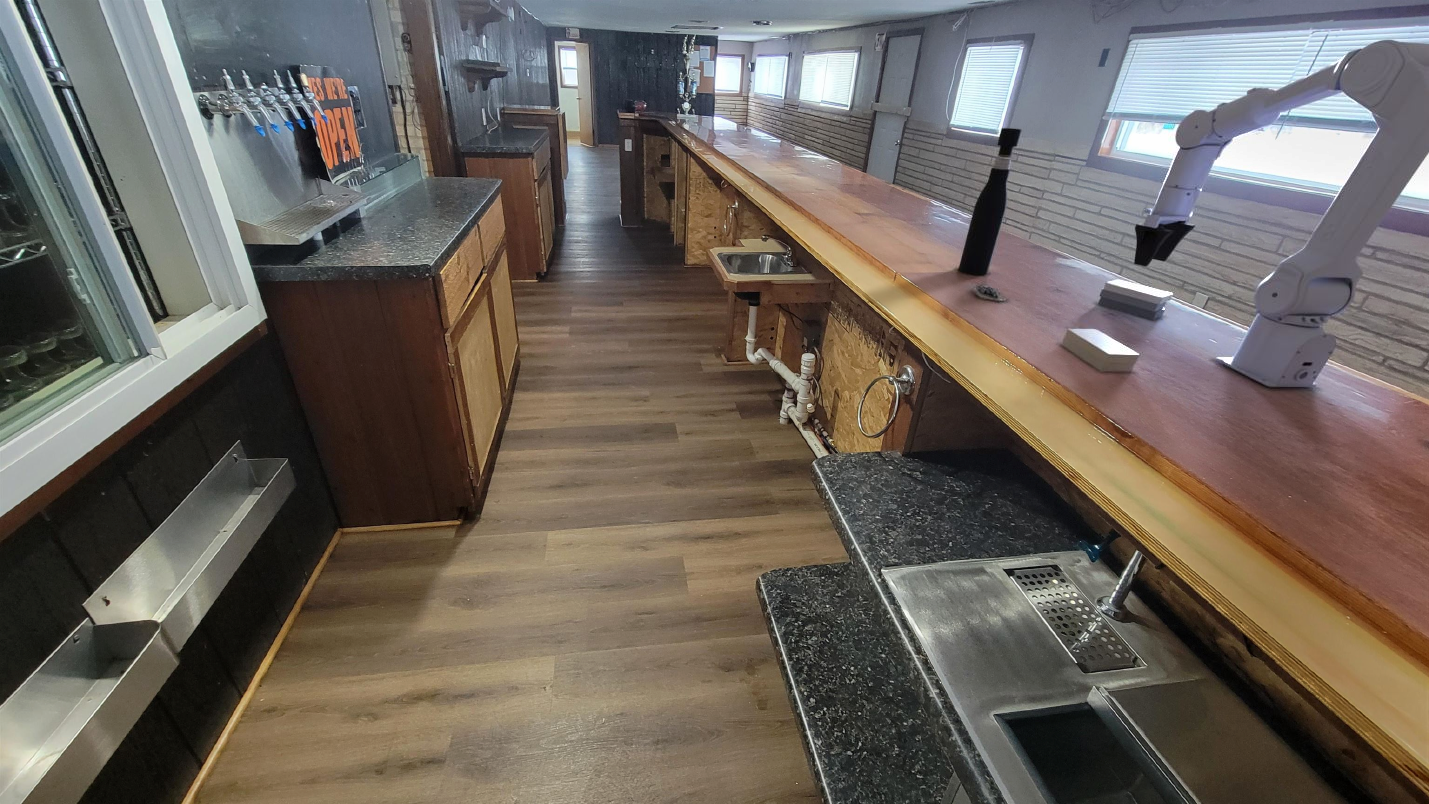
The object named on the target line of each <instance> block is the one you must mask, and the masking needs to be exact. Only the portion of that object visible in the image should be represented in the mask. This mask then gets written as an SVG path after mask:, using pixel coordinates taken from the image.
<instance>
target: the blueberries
mask: <svg viewBox="0 0 1429 804" xmlns="http://www.w3.org/2000/svg"><path fill="white" fill-rule="evenodd" d="M970 288H971V290H972V291H973V292H974V294H975V295H976V296H978V297H979V298H981V299H985V300H991V301H996V302H1006V300H1007V298H1006V297H1004V295H1003V293H1001V292H1002V291H1001V290H1000V289H996V288H995V287H992V286H990V285H987V286H986V285H985V284H980V285H976V286H970ZM1002 295H1003V296H1002Z"/></svg>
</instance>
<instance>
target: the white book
mask: <svg viewBox="0 0 1429 804" xmlns="http://www.w3.org/2000/svg"><path fill="white" fill-rule="evenodd" d="M1102 289H1104V290H1108V291H1112V292H1115V293H1119V294H1122V295H1126V296H1130V297H1133V298H1137V299H1141V300H1144V301H1148V302H1152V303H1155V304H1162V303H1164V302H1166V303H1167V302H1169V301H1171V299H1172V298H1173V296H1174V293H1173V292H1169V291H1165V290H1162V289H1158V288H1153V287H1150V286H1146V285H1142V284H1140V283H1139V284H1138V283H1134V282H1131V281H1127V280H1123V279H1119V278H1116V279H1113V280H1110V281H1107V282H1105V283H1104V286H1103V287H1102Z"/></svg>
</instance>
